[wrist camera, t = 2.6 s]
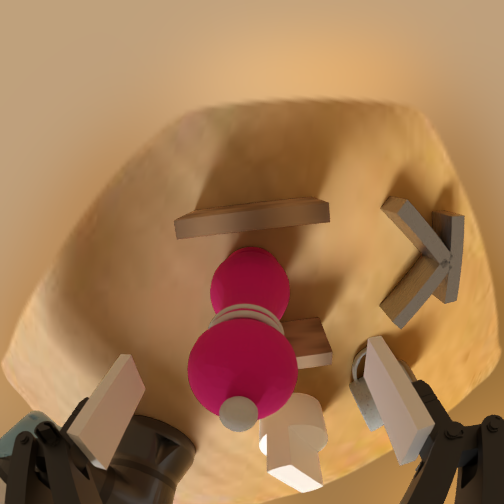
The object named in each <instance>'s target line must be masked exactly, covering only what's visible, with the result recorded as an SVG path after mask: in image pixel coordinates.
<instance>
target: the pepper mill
mask: <svg viewBox="0 0 504 504" xmlns="http://www.w3.org/2000/svg"><path fill="white" fill-rule="evenodd" d="M210 296H211V301H212V305H213V308H214V311H215V313H216V315H215V317H214V318H213V319H212V321H211V323H210V325H209V327H208V330H207V331H205V332H204V333H203V334H202V335H201V336H200V337H199V338H198V340H197V341H196V343H195V345H194V346H193V348H192V350H191V353H190V357H189V361H188V379H189V383H190V387H191V389H192V391H193V393H194V395H195V396H196V398H197V399H198V401H199V402H200V403H201V404H202V405H203V406H204V407H205V408H206V409H208V410H209V411H211V412H212V413H214V414H216V415H218V416H219V418H220V420H221V422H222V424H223V425H224V426H225V427H226V428H228V429H230V430H232V431H236V432H242V431H246V430H248V429H250V428H251V427H253V426H254V424H255V423H256V421H257V420H259V419H263V418H265V417H267V416H269V415H271V414H274V413H275V412H277V411H278V410H279V409H280V408H282V407H283V406H284V405H285V404H286V402H287V401H288V400H289V398H290V397H291V395H292V393H293V391H294V388H295V385H296V382H297V377H298V364H297V359H296V355H295V352H294V350H293V347H292V345H291V344H290V343H289V341H288V340H287V338H286V337H285V336H284V330H283V327H282V325H281V323H280V321H279V320H280V319H281V317H282V316H283V314H284V312H285V310H286V308H287V305H288V302H289V296H290V287H289V280H288V277H287V275H286V273H285V271H284V269H283V268H282V266H281V265H280V264H279V263H278V261H277V260H276V258H275V257H274V256H273V255H272V254H271V253H269V252H268V251H266V250H264V249H262V248H258V247H245V248H242V249H239V250H237V251H235V252H234V253H232V254H231V255H230V256H229V257H228V258H227V259H226V260H225V261H224V262H223V263H221V264H220V266H219V267H218V268H217V270H216V271H215V273H214V275H213V279H212V283H211V289H210Z"/></svg>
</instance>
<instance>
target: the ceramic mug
mask: <svg viewBox="0 0 504 504" xmlns="http://www.w3.org/2000/svg"><path fill="white" fill-rule="evenodd" d="M366 352H367V348H365V349H363V350H362V351H360V352H359V353H358V354H357V355H356V357H355V359H354V361H353V365H352V374H353V379H354V381H353V382H351V383H350V384H349V387H350V390H351V392H352V394H353V397H354V399H355V401H356V403H357V405H358V407H359V409H360V411H361V414H362V415H363V418H364V420H365V422H366V424H367V425H368V427H369V429H370V431H374V430H376V429H378V428H379V427H381V426H383V425H384V424H383V421H382V419H381V416H380V414H379V412H378V409H377V407H376V404H375V402H374V400H373V397H372V395H371V393H370V390H369V388H368V386H367V383H366V381H365V379H364V376H363V377H361V378H359V379H357V367H358V364H359V362H360V359H361V358H362V357H363V355H365V354H366ZM397 361H398V363H399V364H400V366H401V367H402V369H403V371H404V372H405V374H406V375H407V377H408V379H409V380H410V382H415V381H417V379H416V377H415V375H414V374H413V372H412V370H411V369H410V367H409V366H408V365H407V364H406V363H405V362H404V361H403V360H397Z"/></svg>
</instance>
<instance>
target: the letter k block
mask: <svg viewBox="0 0 504 504" xmlns="http://www.w3.org/2000/svg"><path fill="white" fill-rule="evenodd" d="M380 209H381V210H382V211H383V212H384V213H385V214H386V215H387V216H388V217H389V218H390V219H391V220H392V221H393V222H394V223H395V224H396V225H397V227H398V228H399V229H400V230H401V231H402V232H403V233H404V234H405V235H406V236H407V237H408V239H409V240H410V241H411V242H412V243H413V244H414V245H415V247H416V248H417V249H418V250H419V251H420V252H421V253H422V255H421V256H420V258H419V259H418V260H417V261H416V263H415V264H414V265H413V267H412V268H411V269H410V270H409V272H408V273H407V274H406V275H405V276H404V278H403V279H402V280H401V281H400V283H399V284H398V285H397V286H396V287H395V288H394V290H393V291H392V292H391V293H390V294H389V295H388V297H387V298H386V299H385V300H384V301H383V302H382V303H381V304H380V307H381V309H382V310H383V311H384V312H385V313H386V315H387V316H388V317H389V318H390V319H391V321H392V322H393V323H394V324H396V325H397V326H398V327H399V328H400V329H402V328H403V327H404V326H405V325H406V323H407V322H408V321H409V320H410V319H411V318H412V317H413V316H414V314H415V313H416V312H417V311H418V310H419V309H420V307H421V306H422V305H423V304H424V303H425V302H426V300H427V299H428V298H429V297H430V295H431V294H433V295H434V296H435V297H436V298H438V299H439V300H440V301H441V302H443V303H444V304H446V303H450V302H454V301H457V295H458V289H459V281H460V273H461V264H462V254H463V239H464V215H460V214H456V213H452V212H448V211H432V228H431V227H430V225H429V224H428V223H427V222H426V221H425V219H424V218H423V217H422V216H421V215H420V213H419V212H418V211H417V210H416V209H415V207H414V206H413V205H412V204H411V203H410V202H409V201H408V199H403V198H397V197H392V196H390V197H389V198H388V199H387V201H386V202H385V203H384V205H383V206H382V207H381V208H380Z"/></svg>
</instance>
